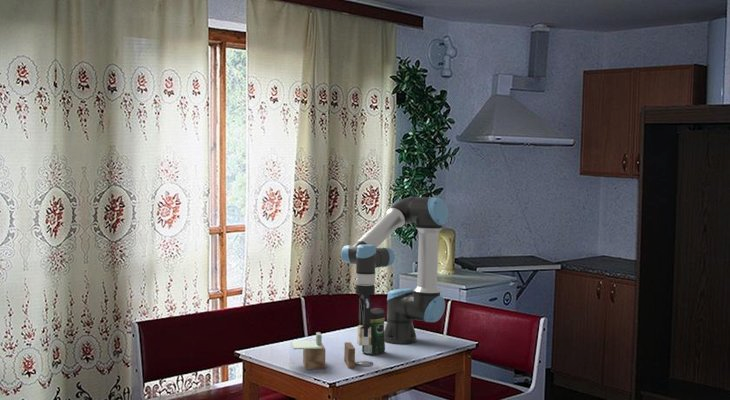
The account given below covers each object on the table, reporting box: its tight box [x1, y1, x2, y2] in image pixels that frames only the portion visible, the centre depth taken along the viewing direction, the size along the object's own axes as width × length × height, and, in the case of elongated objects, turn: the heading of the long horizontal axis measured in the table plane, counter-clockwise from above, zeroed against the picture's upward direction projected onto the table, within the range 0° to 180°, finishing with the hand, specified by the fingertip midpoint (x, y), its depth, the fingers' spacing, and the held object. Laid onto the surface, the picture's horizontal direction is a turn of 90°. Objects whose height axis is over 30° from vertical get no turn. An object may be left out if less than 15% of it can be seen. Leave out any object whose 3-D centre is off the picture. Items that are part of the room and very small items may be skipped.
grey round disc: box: [355, 360, 373, 367], centre depth 310 cm, size 7×7×1 cm
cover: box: [290, 331, 323, 350], centre depth 306 cm, size 11×12×5 cm
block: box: [357, 324, 371, 346], centre depth 310 cm, size 4×4×7 cm
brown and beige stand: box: [302, 341, 356, 370], centre depth 308 cm, size 19×11×8 cm, turn 100°
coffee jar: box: [361, 307, 386, 356], centre depth 329 cm, size 10×8×19 cm
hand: (363, 343), depth 310 cm, fingers closed on block, 4 cm apart
